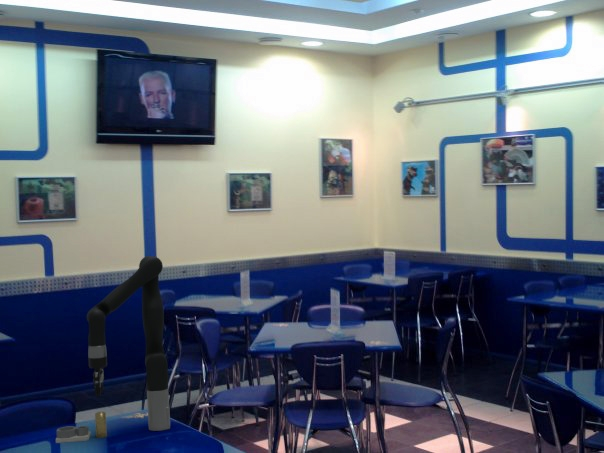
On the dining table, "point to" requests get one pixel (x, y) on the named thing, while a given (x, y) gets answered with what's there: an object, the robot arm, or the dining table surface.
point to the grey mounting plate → (72, 434)
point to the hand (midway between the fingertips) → (99, 393)
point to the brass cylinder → (100, 424)
